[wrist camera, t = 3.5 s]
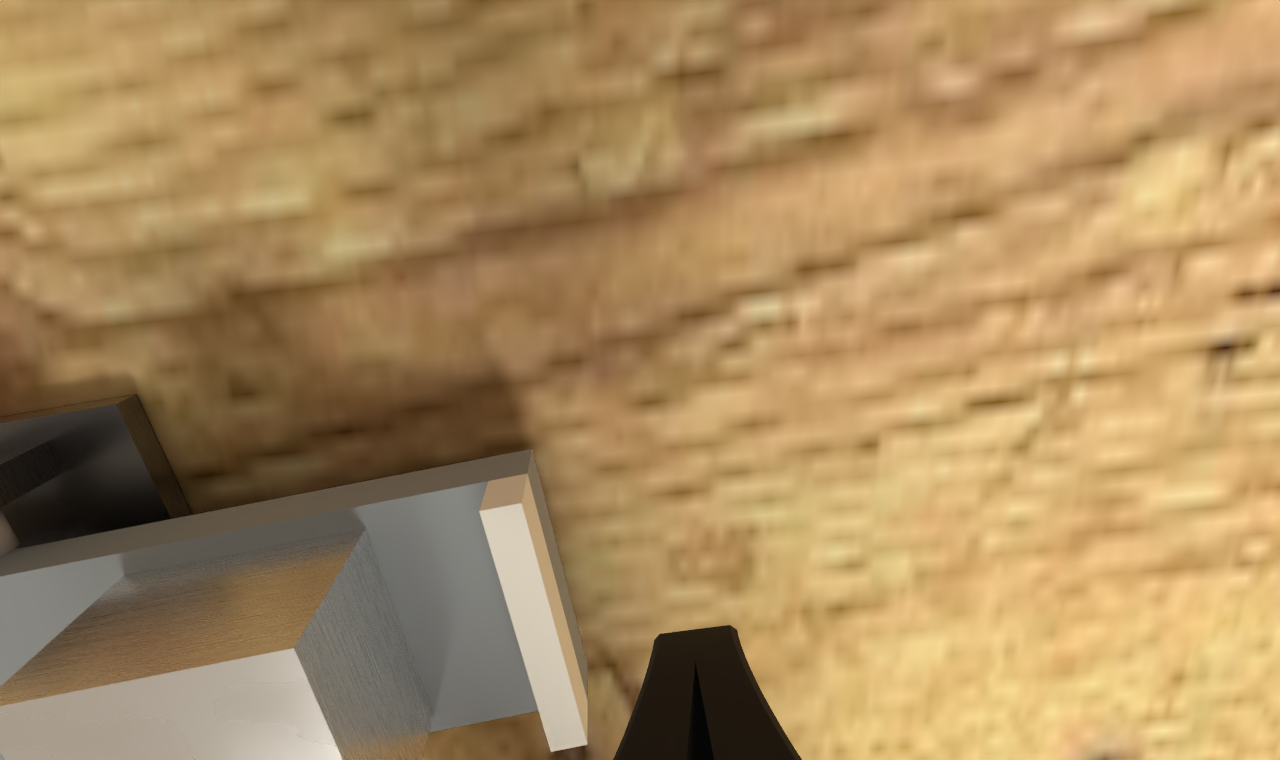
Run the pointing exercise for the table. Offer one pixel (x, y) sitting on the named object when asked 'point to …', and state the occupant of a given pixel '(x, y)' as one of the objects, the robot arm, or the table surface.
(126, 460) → the pivot stand
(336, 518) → the seesaw beam
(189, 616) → the steel weight
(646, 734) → the robot arm
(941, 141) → the table surface
